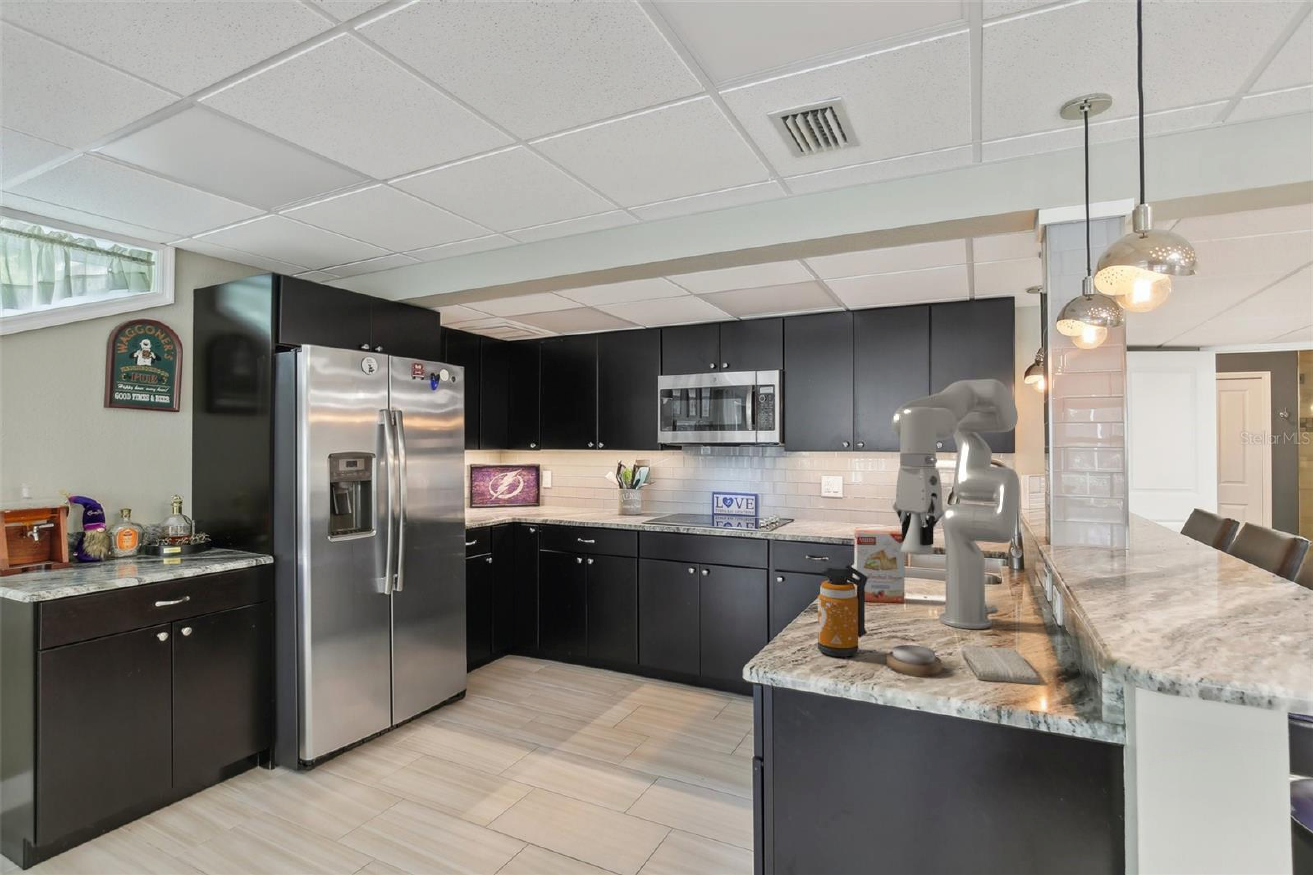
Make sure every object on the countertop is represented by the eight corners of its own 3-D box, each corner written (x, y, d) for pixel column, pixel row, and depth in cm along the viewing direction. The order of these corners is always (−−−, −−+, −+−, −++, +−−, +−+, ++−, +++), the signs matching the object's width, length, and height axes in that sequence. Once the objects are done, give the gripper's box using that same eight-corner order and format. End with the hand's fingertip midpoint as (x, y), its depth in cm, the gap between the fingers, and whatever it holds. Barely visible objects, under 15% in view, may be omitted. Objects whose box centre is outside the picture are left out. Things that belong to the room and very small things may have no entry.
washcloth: (1014, 658, 152) (1014, 644, 152) (1041, 687, 135) (1041, 672, 135) (957, 654, 155) (957, 641, 155) (977, 683, 137) (977, 668, 137)
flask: (937, 556, 147) (937, 510, 147) (902, 555, 149) (902, 509, 149) (931, 551, 154) (931, 507, 154) (897, 550, 156) (898, 506, 156)
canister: (814, 646, 160) (814, 561, 159) (861, 646, 159) (861, 562, 159) (822, 658, 151) (822, 569, 150) (872, 659, 150) (872, 569, 150)
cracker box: (856, 601, 201) (856, 532, 201) (853, 596, 207) (853, 529, 207) (905, 603, 199) (905, 533, 199) (901, 598, 205) (901, 530, 205)
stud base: (915, 656, 152) (915, 641, 152) (953, 672, 142) (953, 656, 142) (875, 662, 148) (875, 646, 148) (911, 679, 138) (911, 662, 138)
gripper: (960, 463, 145) (959, 547, 145) (904, 461, 161) (904, 537, 161) (932, 463, 142) (931, 549, 142) (879, 461, 158) (878, 538, 158)
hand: (917, 542), depth 151 cm, fingers closed on flask, 5 cm apart
